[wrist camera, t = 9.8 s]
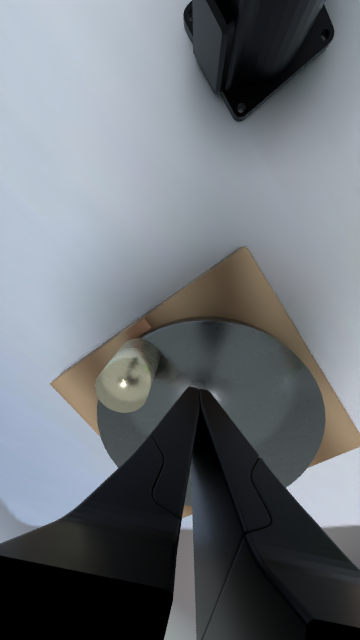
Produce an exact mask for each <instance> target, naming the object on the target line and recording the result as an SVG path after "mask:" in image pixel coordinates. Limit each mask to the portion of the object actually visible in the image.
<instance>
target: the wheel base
mask: <svg viewBox="0 0 360 640" xmlns="http://www.w3.org/2000/svg"><path fill="white" fill-rule="evenodd" d="M202 316H210V317H224V318H229V319H235V320H239V321H242V322H245V323H249V324H252V325H254V326H256V327H258V328H261V329H263V330H265V331H267V332H268V333H270V334H272V335H273V336H275V337H276V338H278V339H279V340H280V341H282V342H283V343H284V344H285V345H286V346H287V347H289V348H290V349H291V350H292V351H293V352H294V353H295V354H296V355H297V356H298V357H299V358H300V360H301V361H302V362H303V363H304V364H305V365H306V367H307V368H308V369H309V370H310V372H311V373H312V375H313V377H314V378H315V380H316V381H317V384H318V386H319V389H320V391H321V393H322V397H323V401H324V406H325V418H326V421H325V430H324V435H323V439H322V442H321V445H320V448H319V450H318V452H317V454H316V456H315V458H314V459H313V461H312V462H311V464H310V465H309V467H311V466H313V465H316V464H318V463H321V462H323V461H326V460H328V459H331V458H333V457H335V456H338V455H340V454H343V453H345V452H348V451H350V450H353V449H355V448H358V447H360V433H359V431H358V430H357V428H356V427H355V425H354V423H353V422H352V420H351V418H350V417H349V415H348V413H347V412H346V410H345V408H344V407H343V405H342V403H341V402H340V400H339V398H338V397H337V395H336V393H335V392H334V390H333V388H332V387H331V385H330V384H329V382H328V380H327V379H326V377H325V375H324V374H323V372H322V370H321V369H320V367H319V365H318V364H317V362H316V360H315V359H314V357H313V355H312V354H311V352H310V350H309V349H308V347H307V345H306V344H305V342H304V341H303V339H302V337H301V336H300V334H299V332H298V331H297V329H296V327H295V326H294V324H293V322H292V321H291V319H290V317H289V316H288V314H287V312H286V311H285V309H284V307H283V306H282V304H281V303H280V301H279V299H278V298H277V296H276V294H275V293H274V291H273V289H272V288H271V286H270V284H269V283H268V281H267V279H266V278H265V276H264V274H263V273H262V271H261V269H260V268H259V266H258V264H257V263H256V261H255V260H254V258H253V256H252V255H251V253H250V251H249V250H248V248H247V246H245V247H240V248H239V249H237V250H236V251H235V252H233V253H232V254H230V255H229V256H227V257H226V258H225V259H223V260H222V261H220V262H219V263H218V264H216V265H215V266H213V267H212V268H210V269H209V270H208V271H206V272H205V273H203V274H202V275H200V276H199V277H198V278H196V279H195V280H193V281H192V282H190V283H189V284H188V285H186V286H185V287H183V288H182V289H181V290H179V291H178V292H176V293H175V294H173V295H172V296H171V297H169V298H168V299H166V300H165V301H163V302H162V303H161V304H159V305H158V306H156V307H155V308H154V309H152V310H151V311H149V312H148V313H146V314H145V315H144V316H142V317H141V318H139V319H138V320H136V321H135V322H134V323H132V324H131V325H129V326H128V327H127V328H125V329H124V330H122V331H121V332H119V333H118V334H117V335H115V336H114V337H112V338H111V339H109V340H108V341H107V342H105V343H104V344H102V345H101V346H100V347H98V348H97V349H95V350H94V351H92V352H91V353H90V354H88V355H87V356H85V357H84V358H82V359H81V360H80V361H78V362H77V363H75V364H74V365H73V366H71V367H70V368H68V369H67V370H65V371H64V372H63V373H62V374H60V375H59V376H58V377H57V378H56V379H55V380H54V381H52V382H51V383H50V385H51V386H52V387H53V388H54V389H55V390H56V391H57V392H58V393H59V394H60V395H61V396H62V397H63V398H64V399H65V400H66V401H67V402H68V403H69V404H70V405H71V407H72V408H73V409H74V410H75V411H76V412H77V413H78V414H79V415H80V416H81V417H82V418H83V419H84V420H85V421H86V422H87V423H88V424H89V425H90V426H91V427H92V429H93V430H94V431H95V432H96V433H97V434H98V435H99V436H100V433H99V429H98V423H97V402H98V397H97V395H96V392H95V381H96V379H97V377H98V375H99V374H100V373H101V371H102V370H103V369H104V368H105V367H106V365H107V364H108V363H109V362H110V360H111V359H112V358H113V357H114V356H115V354H116V353H117V352H118V351H119V349H120V348H121V347H122V346H123V345H124V344H125V343H126V342H127V341H129V340H131V339H137V338H139V337H141V336H142V335H144V334H145V333H146V332H148V331H150V330H152V329H154V328H156V327H158V326H160V325H163V324H166V323H169V322H172V321H175V320H180V319H185V318H190V317H202ZM191 514H193V513H192V506H187V505H184V509H183V515H182V518H184V517H186V516H189V515H191Z"/></svg>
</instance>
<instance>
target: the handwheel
mask: <svg viewBox="0 0 360 640" xmlns="http://www.w3.org/2000/svg"><path fill="white" fill-rule="evenodd" d="M189 386H190V387H195V388H198V390H199V389H205V390H209V391H210V392H211V394H212V395H213V396H214V397H215V399H216V400H217V401H218V403H219V404H220V405H221V407H222V408H223V409H224V410H225V412H226V413H227V414H228V416H229V417H230V418H231V419H232V421H233V422H234V423H235V425H236V426H237V427H238V429H239V430H240V431H241V432H242V434H243V435H244V436H245V438H246V439H247V440H248V441H249V443H250V444H251V445H252V447H253V448H254V449H255V451H256V452H257V453H258V454H259V457H261V458H262V459H263V461H264V462H265V463H266V465H267V466H268V467H269V468H270V470H271V471H272V472H273V473H274V475H275V476H276V477H277V478H278V480H279V481H280V482H281V483H282V485H283V486H284V487H285V488H286V487H287V486H289V485H290V484H292V483H293V482H294V481H295V480H296V479H297V478H298V477H300V476H301V475H302V473H303V472H304V471H305V470H306V469H307V468H308V467H309V465H310V464H311V462H312V461H313V459H314V458H315V456H316V454H317V452H318V450H319V448H320V445H321V442H322V439H323V435H324V430H325V421H326V418H325V406H324V401H323V397H322V393H321V391H320V389H319V386H318V384H317V381H316V380H315V378H314V377H313V375H312V373H311V372H310V370H309V369H308V368H307V367H306V365H305V364H304V363H303V362H302V361H301V360H300V358H299V357H298V356H297V355H296V354H295V353H294V352H293V351H292V350H291V349H290V348H289V347H287V346H286V345H285V344H284V343H283V342H282V341H280V340H279V339H278V338H276V337H275V336H273V335H272V334H270V333H268V332H267V331H265V330H263V329H261V328H258V327H256V326H254V325H252V324H249V323H245V322H242V321H239V320H235V319H229V318H224V317H210V316H202V317H190V318H185V319H180V320H175V321H172V322H169V323H166V324H163V325H160V326H158V327H156V328H154V329H152V330H150V331H148V332H146V333H145V334H144V335H142V336H141V337H139V338H137V339H131V340H129V341H127V342H126V343H125V344H124V345H123V346H122V347H121V348H120V349H119V351H118V352H117V353H116V354H115V356H114V357H113V358H112V359H111V360H110V362H109V363H108V364H107V365H106V367H105V368H104V369H103V370H102V371H101V373H100V374H99V375H98V377H97V379H96V381H95V392H96V395H97V397H98V402H97V423H98V429H99V433H100V437H101V439H102V442H103V444H104V446H105V449H106V450H107V452H108V454H109V456H110V457H111V459H112V460H113V461H114V463H115V464H116V465H117V467H118V468H119V467H120V466H121V465H122V464H123V463H124V462H125V461H126V460H127V459H128V458H129V457H130V456H131V455H132V454H133V453H134V452H135V451H136V450H137V449H138V447H139V446H140V445H141V444H142V443H143V442H144V440H145V439H146V438H147V437H148V436H149V435H150V433H151V432H152V431H153V429H154V428H155V427H156V426H157V424H158V423H159V422H160V421H161V419H162V418H163V417H164V416H165V415H166V413H167V412H168V411H169V410H170V408H171V407H172V406H173V405H174V403H175V402H176V401H177V400H178V398H179V397H180V396H181V395H182V393H183V392H184V391H185V390H186V388H187V387H189ZM184 505H187V506H192V483H191V467H190V473H189V479H188V485H187V491H186V497H185V503H184Z"/></svg>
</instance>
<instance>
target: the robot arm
mask: <svg viewBox="0 0 360 640" xmlns="http://www.w3.org/2000/svg"><path fill="white" fill-rule="evenodd" d="M324 2H325V0H192V1H191V2H190V3H189V4H188V5H187V7H186V8H185V10H184V27H185V29H186V31H187V33H188V35H189V37H190V39H191V40H192V42H193V53H194V55H195V57H196V59H197V61H198V63H199V64H200V66H201V68H202V70H203V72H204V73H205V75H206V77H207V79H208V81H209V83H210V84H211V86H212V88H213V90H214V92H216V93H220V94H221V96H222V97H223V99H224V101H225V103H226V105H227V107H228V108H229V110H230V112H231V114H232V116H233V118H234V119H235V120H237V121H242V120H243V119H245V118H246V117H247V116H248V115H250V114H251V113H252V112H253V111H254V110H255V109H257V108H258V107H259V106H260V105H261V104H262V103H264V102H265V101H266V100H267V99H268V98H269V97H271V96H272V95H273V94H274V93H275V92H276V91H278V90H279V89H280V88H281V87H282V86H283V85H285V84H286V83H287V82H288V81H289V80H290V79H292V78H293V77H294V76H295V75H296V74H297V73H299V72H300V71H301V70H302V69H303V68H304V67H306V66H307V65H308V64H309V63H310V62H311V61H313V60H314V59H315V58H316V57H317V56H318V55H320V54H321V53H322V52H323V51H324V50H325V49H326V48H327V47H328V45H329V44H330V42H331V41H332V39H333V36H334V28H333V25H332V23H331V20H330V18H329V15H328V13H327V11H326V8H325V6H324ZM191 16H193V21H190V20H189V18H190V17H191ZM321 35H322V36H324V37H325V39H326V40H325V41H324V40H322V39H321V37H320V36H321ZM239 107H242V108H243V109H244V112H242V113H240V112H238V110H237V108H239ZM190 467H191V483H192V513H193V542H194V571H195V572H194V573H195V603H196V634H197V640H360V569H359V568H358V567H357V566H356V565H355V564H354V563H353V562H352V561H351V560H350V559H349V558H348V557H347V556H346V555H345V554H344V553H343V552H342V551H341V549H340V548H339V547H338V546H337V545H336V544H335V543H334V542H333V541H332V540H331V538H330V537H329V536H328V535H327V534H326V533H325V532H324V531H323V530H322V528H321V527H320V526H319V525H318V524H317V523H316V522H315V521H314V520H313V518H312V517H311V516H310V515H309V514H308V513H307V512H306V511H305V510H304V508H303V507H302V506H301V505H300V504H299V503H298V502H297V501H296V499H295V498H294V497H293V496H292V495H291V494H290V493H289V491H288V490H287V489H286V488H285V487H284V486H283V485H282V483H281V482H280V481H279V480H278V478H277V477H276V476H275V475H274V473H273V472H272V471H271V470H270V468H269V467H268V466H267V465H266V463H265V462H264V461H263V459H262V458H261V457H259V454H258V453H257V452H256V451H255V449H254V448H253V447H252V445H251V444H250V443H249V441H248V440H247V439H246V438H245V436H244V435H243V434H242V432H241V431H240V430H239V429H238V427H237V426H236V425H235V423H234V422H233V421H232V419H231V418H230V417H229V416H228V414H227V413H226V412H225V410H224V409H223V408H222V407H221V405H220V404H219V403H218V401H217V400H216V399H215V397H214V396H213V395H212V394H211V392H210V391H209V390H205V389H199V390H198V388H195V387H190V386H189V387H187V388H186V390H185V391H184V392H183V393H182V395H181V396H180V397H179V398H178V400H177V401H176V402H175V403H174V405H173V406H172V407H171V408H170V410H169V411H168V412H167V413H166V415H165V416H164V417H163V418H162V419H161V421H160V422H159V423H158V424H157V426H156V427H155V428H154V429H153V431H152V432H151V433H150V435H149V436H148V437H147V438H146V439H145V440H144V442H143V443H142V444H141V445H140V446H139V447H138V449H137V450H136V451H135V452H134V453H133V454H132V455H131V456H130V457H129V458H128V459H127V460H126V461H125V462H124V463H123V464H122V465H121V466H120V467H119V468H118V469H117V470H116V471H115V472H114V473H113V474H112V475H111V476H110V477H109V478H107V479H106V480H105V481H104V482H103V483H102V484H101V485H100V486H99V487H98V488H97V489H96V490H95V491H94V492H93V493H91V494H90V495H89V496H88V497H87V498H86V499H85V500H84V501H83V502H82V503H81V504H80V505H78V506H77V507H76V508H75V509H73V510H72V511H71V512H69V513H68V514H67V515H65V516H64V517H62V518H60V519H58V520H57V521H55V522H52V523H50V524H47V525H45V526H42V527H40V528H37V529H35V530H32V531H30V532H27V533H25V534H22V535H20V536H18V537H15V538H13V539H10V540H8V541H5V542H3V543H0V640H164V636H165V632H166V627H167V623H168V619H169V615H170V610H171V606H172V601H173V591H174V580H175V568H176V555H177V548H178V540H179V534H180V527H181V521H182V515H183V509H184V503H185V497H186V491H187V485H188V479H189V473H190Z"/></svg>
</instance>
